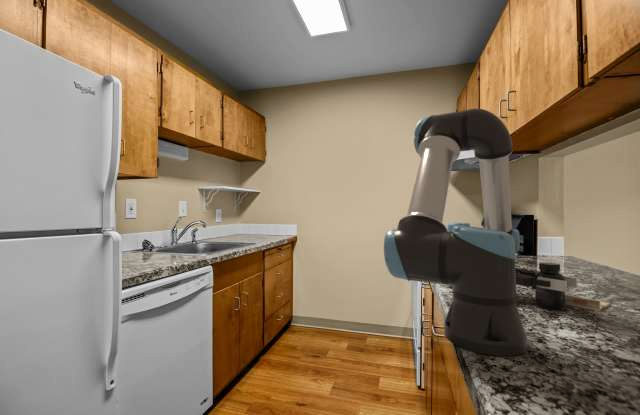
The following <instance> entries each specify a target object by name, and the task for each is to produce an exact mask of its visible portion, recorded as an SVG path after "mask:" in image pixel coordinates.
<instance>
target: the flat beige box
mask: <svg viewBox="0 0 640 415" xmlns="http://www.w3.org/2000/svg"><path fill="white" fill-rule="evenodd" d="M565 305H568V306H572V307H578V308H581V309H582V308H583V309H586V310H591V311H596V312H600V311H602V310H604V309H605V308H608V307H611V305H612V303H611V302H609V301H603V300H598V299H593V298H588V297H587V298H586V297H582V296H576V295H575V296H574V295H570V294H566V293H565Z"/></svg>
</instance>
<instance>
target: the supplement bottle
mask: <svg viewBox="0 0 640 415" xmlns="http://www.w3.org/2000/svg"><path fill="white" fill-rule="evenodd" d="M538 271H539V272H537V273H536V274H535V277H536V279H537V277H543V278H549V279H556V280H562V281H565V277H564V276H565V275H564V274H562V273H560V272H561V264H559V263H555V262H544V261H543V262H542V261H541V262H539V263H538ZM565 294H566V292H563V291H558V290H552V289H546V288H541V287H537V285H536V289H534V302H535V305H536V306H538V307H541V308H544V309H549V310H564V309H565V308H566V304H565Z"/></svg>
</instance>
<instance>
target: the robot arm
mask: <svg viewBox="0 0 640 415" xmlns="http://www.w3.org/2000/svg"><path fill="white" fill-rule="evenodd" d="M413 133H414V134H413V135H414V138H413V145H414V149H415V151H416V153H417V155H419V157H420V162H419V166H418V168H417V169H418V170H417V173H416V174H417V175H416V178H415V181H414V185H413V189H412V193H411V198H410V202H409V205H408V209H407V210H408V211H407V213H406V214H407V215H405V216H403V217H402V218H400V219H399V222H398V223H397V224H398V225H397V227H396V229H394V228H392V229H389V230H387V232H386V233H385V235H384V238H383V239H384V241H383V256H384V261H385V266H386V267H387V270H388V272H389V274H390V275H391V276H392V277H394V278H396V279H401V280H405V281H406V280H407V281H408V282H411V281H413V282H421V283H423V282H424V283H430V284H440V285H445V286H446V285H447V286H452V300H451V302H450V306H449V309H448V311H447V314H446V318H445V320H444V325H443V328H444V329H443V332H444V334H443V335H444V337H445V339H446V340H447V341H449V342H451V343H452V344H453V345H455V346H458V347H460V348H462V349H464V350H467V351H471V352H474V353H478V354H482V355H483V354H484V355H487V356H488V355H490V356H499V357H510V356H511V357H513V356H519V355H523V354H524V353H526V352H527V350H528V335H527V332H526V330H525V327H524V324H523V322H522V319H521V316H520V313H519V310H518V308H517V307H518V306H517V286H522V287H526V288H531V289H532V290H535V289H536V285H537V287H541V288H546V289H552V290H558V291H563V292H565V293H567V292H568V288H575V289H577V288H578V277H574V276H567V275H563V276H564V277H565V281H562V280H556V279H549V278H543V277H537V279H536V277H535V274H536V273H537V272H539V271H540V270H538V271H537V270H530V269H524V268H519V267H518V268H517V267H516V260H517V258H518V255H516V253H518V252H519V250H520V245H521V244H520V241H521V240H520V231H519V230H518V229H513V225H512V204H511V181H510V178H511V177H510V162H509V161H510V160H509V159H510V157H509V156H511V154H512V153H513V140H512V136H511V134H510V132H509V130H508V127H507V126H506V124H505V123H504V122H503V121H502V119H500V118H499V117H498V116H497V115H496V114H495V113H493V112H491V111H489V110H487V109H483V108H469V109H466V110H459V111H454V112H446V113H440V114H433V115H430V116H426V117H423V118H421V119H420V120H419V121H418V122H417V124H416V125H415V127H414V132H413ZM468 151H473V152H474V157H475V158H476V159H477V160H478V165H479V174H480V186H481V187H480V188H481V195H482V196H481V197H482V205H483V207H482V208H483V216H484V218H483V219H484V220H483V221H484V227H476V226H471V225H470V223H468V222H449V223H448V224H447V226H446V225H445V224H444V223H443V221H444V215H445V208H446V203H447V197H448V192H449V186H450V179H451V175H452V168H453V163H454V162H455V161H457V160H458V159H459V157H460V155H461V152H468Z"/></svg>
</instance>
